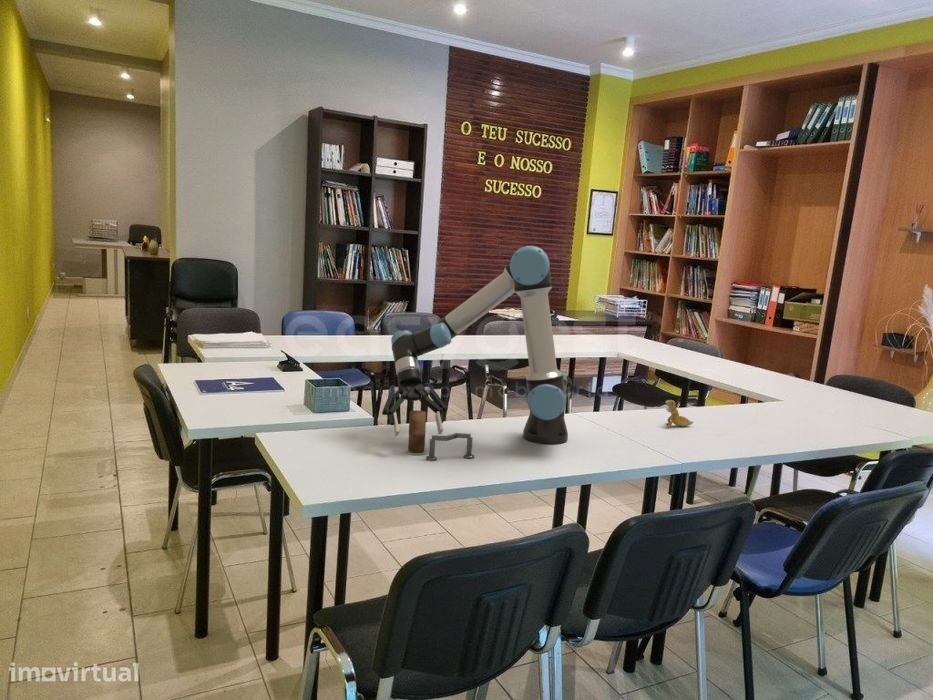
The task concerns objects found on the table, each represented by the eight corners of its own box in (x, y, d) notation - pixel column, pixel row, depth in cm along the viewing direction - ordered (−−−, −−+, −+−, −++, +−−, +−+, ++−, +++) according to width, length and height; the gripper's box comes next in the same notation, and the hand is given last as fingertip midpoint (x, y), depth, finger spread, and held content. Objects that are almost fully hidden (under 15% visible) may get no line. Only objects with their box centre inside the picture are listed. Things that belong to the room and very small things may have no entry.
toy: (650, 416, 256) (664, 394, 253) (680, 429, 261) (694, 408, 259) (658, 424, 250) (672, 402, 247) (688, 437, 255) (703, 415, 253)
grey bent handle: (470, 454, 204) (471, 431, 203) (475, 458, 201) (477, 435, 200) (424, 457, 198) (425, 434, 197) (429, 461, 195) (430, 438, 194)
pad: (426, 450, 207) (426, 448, 206) (425, 455, 201) (425, 454, 201) (407, 448, 207) (407, 447, 206) (405, 454, 201) (405, 453, 201)
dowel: (427, 450, 204) (429, 412, 203) (418, 454, 200) (420, 415, 199) (414, 447, 207) (415, 409, 205) (404, 451, 203) (406, 412, 201)
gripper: (443, 380, 219) (455, 437, 208) (367, 381, 211) (376, 440, 199) (448, 367, 214) (461, 425, 202) (371, 367, 205) (380, 428, 193)
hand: (419, 433), depth 200 cm, fingers open, 13 cm apart
